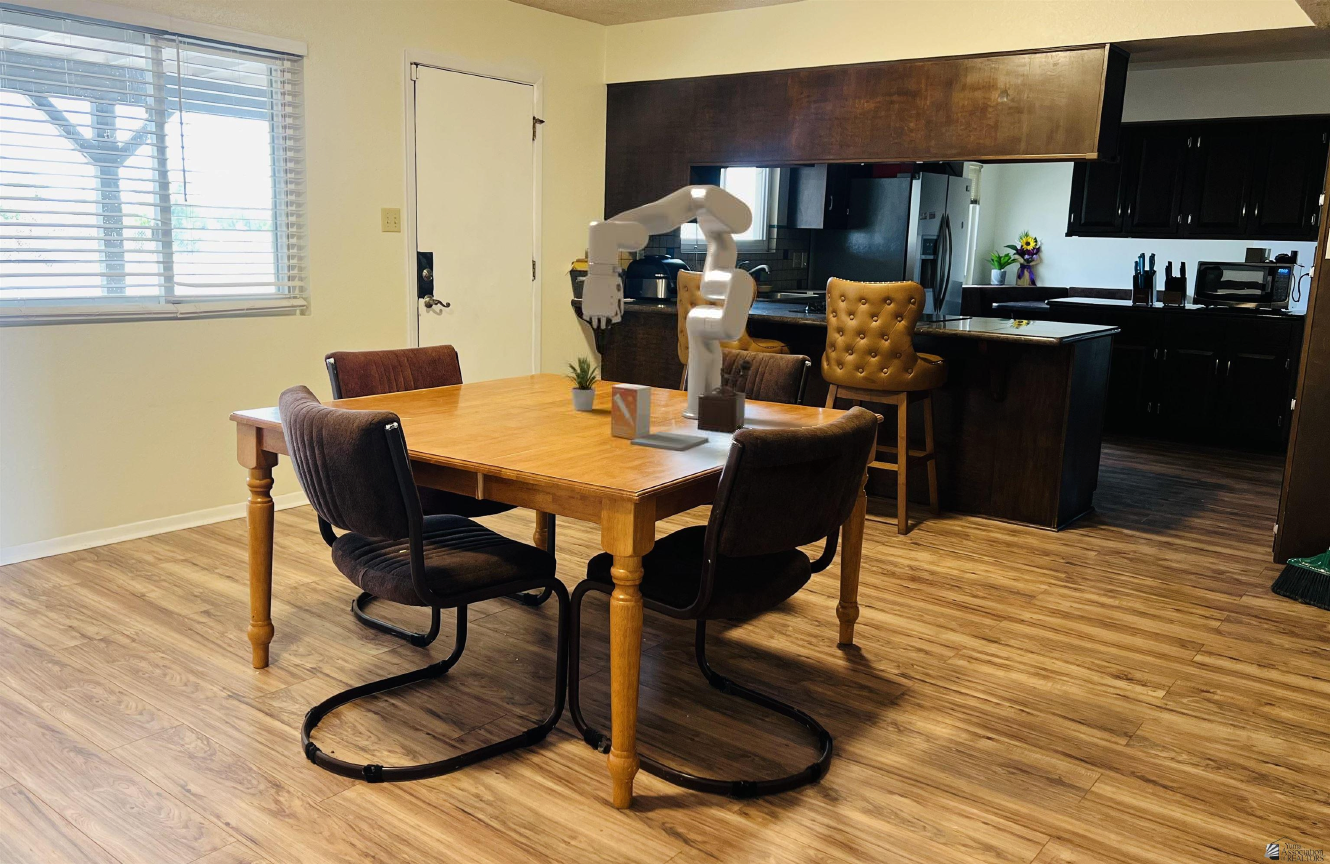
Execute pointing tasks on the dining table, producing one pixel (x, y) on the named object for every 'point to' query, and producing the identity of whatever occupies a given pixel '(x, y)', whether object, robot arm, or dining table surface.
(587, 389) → the house plant
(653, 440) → the mat
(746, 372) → the manual coffee grinder
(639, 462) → the dining table surface
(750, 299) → the robot arm
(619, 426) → the small box
